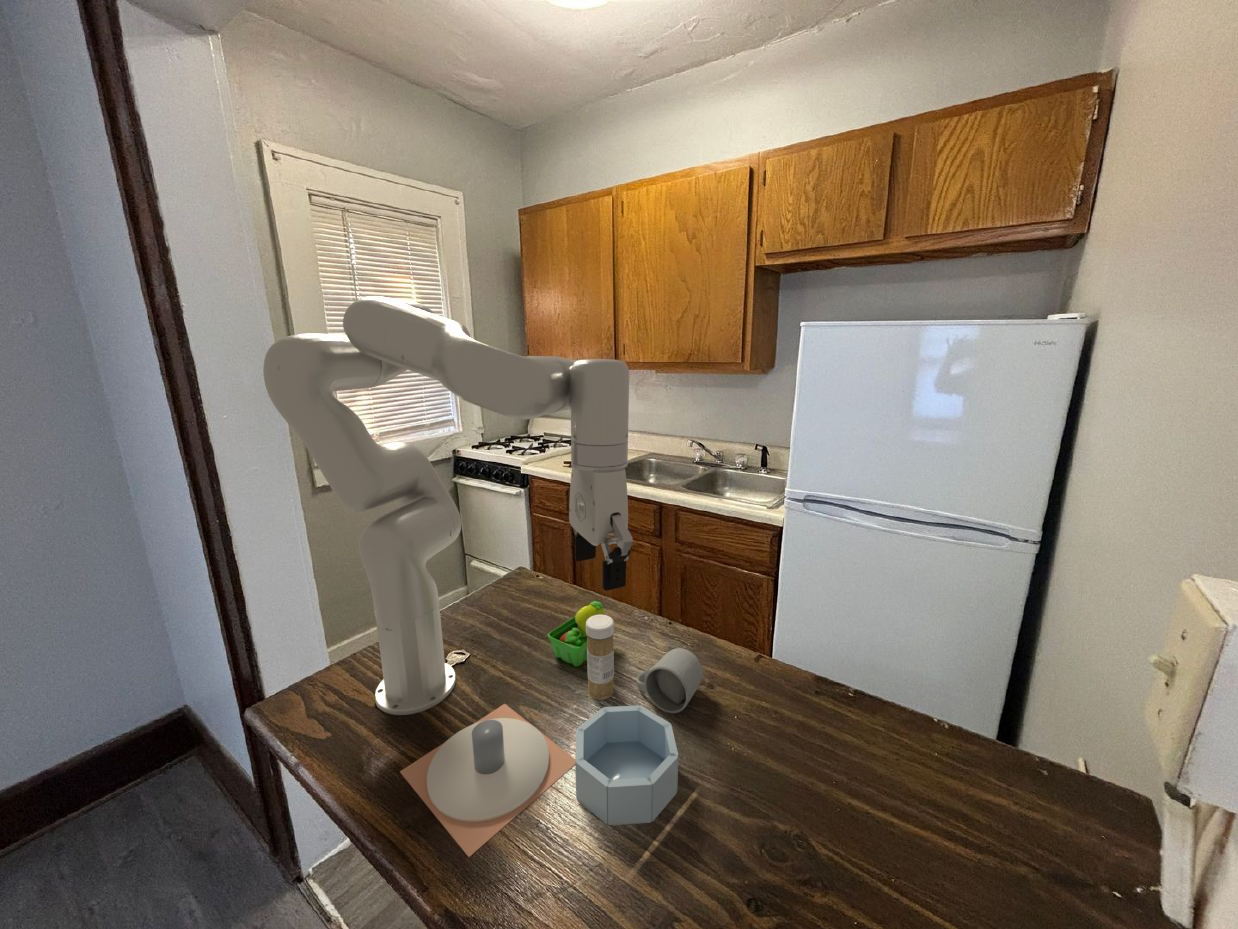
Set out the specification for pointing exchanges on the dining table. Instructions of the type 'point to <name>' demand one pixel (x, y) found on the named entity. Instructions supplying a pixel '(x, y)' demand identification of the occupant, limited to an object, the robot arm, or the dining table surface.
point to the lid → (487, 770)
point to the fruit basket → (574, 635)
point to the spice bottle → (600, 656)
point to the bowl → (626, 764)
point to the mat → (481, 832)
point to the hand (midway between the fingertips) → (598, 572)
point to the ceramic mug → (672, 680)
